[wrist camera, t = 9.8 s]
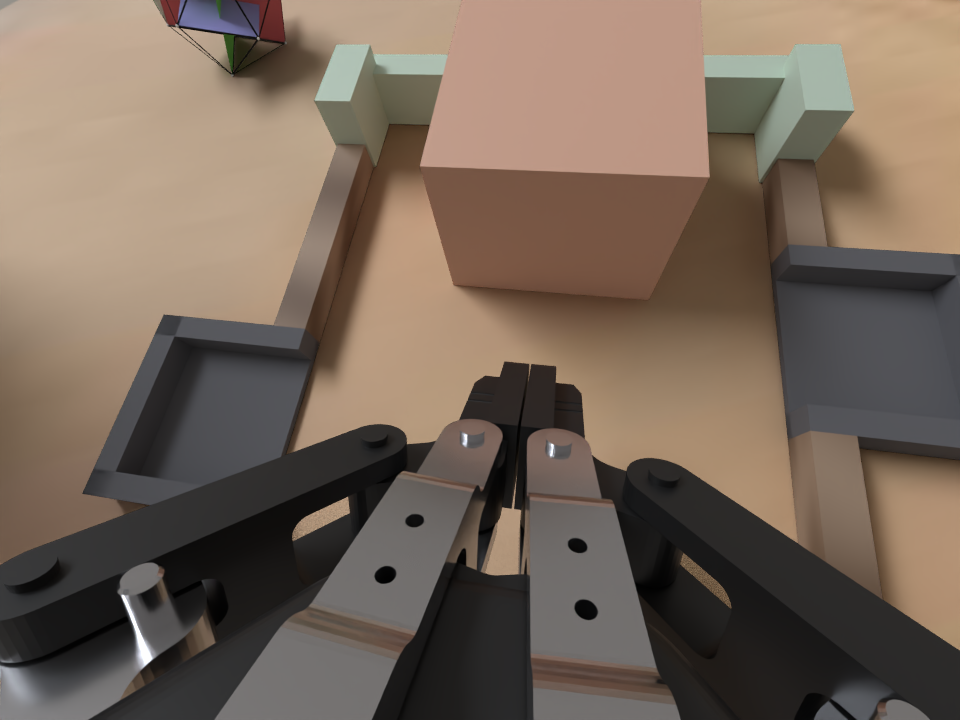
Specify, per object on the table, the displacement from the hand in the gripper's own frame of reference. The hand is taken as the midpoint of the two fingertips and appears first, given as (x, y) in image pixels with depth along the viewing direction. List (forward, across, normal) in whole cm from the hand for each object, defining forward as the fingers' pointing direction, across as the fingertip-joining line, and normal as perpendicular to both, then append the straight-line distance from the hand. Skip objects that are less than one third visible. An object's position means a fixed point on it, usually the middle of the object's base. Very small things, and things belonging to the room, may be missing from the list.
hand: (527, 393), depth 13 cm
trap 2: (+4, +14, +5) cm, 15 cm away
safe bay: (+15, 0, -7) cm, 17 cm away
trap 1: (+8, -14, 0) cm, 15 cm away
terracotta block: (+12, 0, -4) cm, 13 cm away
